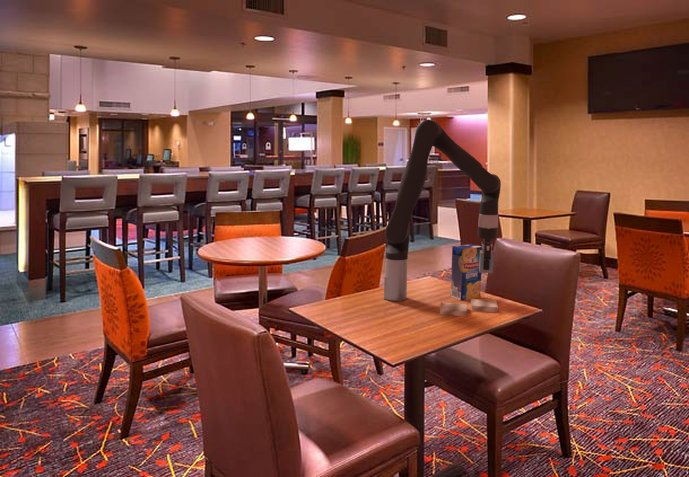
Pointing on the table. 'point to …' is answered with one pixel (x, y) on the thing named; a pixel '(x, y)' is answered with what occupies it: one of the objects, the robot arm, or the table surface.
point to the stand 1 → (453, 309)
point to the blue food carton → (465, 272)
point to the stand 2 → (484, 305)
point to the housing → (481, 263)
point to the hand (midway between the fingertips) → (485, 268)
